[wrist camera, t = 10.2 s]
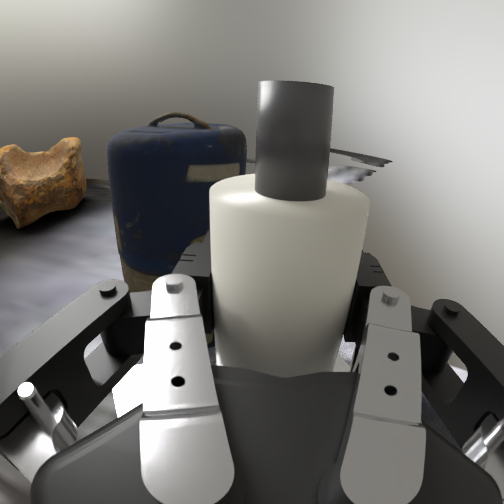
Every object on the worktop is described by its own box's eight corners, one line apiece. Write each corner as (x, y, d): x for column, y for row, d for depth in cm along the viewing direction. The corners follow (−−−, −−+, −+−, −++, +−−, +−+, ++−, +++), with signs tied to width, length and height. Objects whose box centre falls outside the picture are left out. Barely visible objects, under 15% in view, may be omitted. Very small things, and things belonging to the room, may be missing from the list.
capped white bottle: (244, 482, 11) (257, 70, 5) (209, 413, 15) (189, 85, 8) (327, 445, 13) (415, 99, 7) (283, 388, 17) (314, 91, 10)
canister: (200, 287, 33) (195, 108, 25) (265, 331, 27) (278, 112, 19) (119, 322, 27) (88, 119, 19) (173, 386, 21) (140, 117, 13)
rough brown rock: (-19, 249, 40) (-37, 169, 33) (-6, 214, 52) (-16, 149, 45) (94, 224, 52) (87, 143, 45) (86, 195, 64) (82, 130, 56)
